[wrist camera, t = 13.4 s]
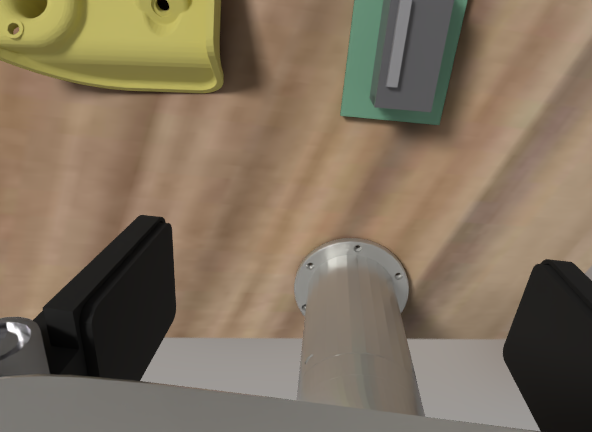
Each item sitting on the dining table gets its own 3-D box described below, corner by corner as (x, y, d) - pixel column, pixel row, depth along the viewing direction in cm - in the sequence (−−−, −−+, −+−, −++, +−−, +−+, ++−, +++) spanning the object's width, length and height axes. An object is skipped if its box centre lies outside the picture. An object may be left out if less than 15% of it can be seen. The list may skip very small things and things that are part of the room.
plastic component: (216, -66, 32) (211, 63, 31) (231, -10, 39) (227, 94, 39) (-41, -75, 32) (-48, 53, 31) (22, -18, 39) (17, 86, 39)
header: (436, 122, 38) (449, 134, 34) (340, 113, 39) (341, 123, 35) (469, -26, 33) (488, -34, 29) (358, -35, 34) (361, -44, 30)
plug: (418, 102, 37) (432, 113, 32) (369, 98, 37) (375, 108, 32) (441, -19, 33) (462, -28, 28) (386, -23, 33) (396, -32, 28)
